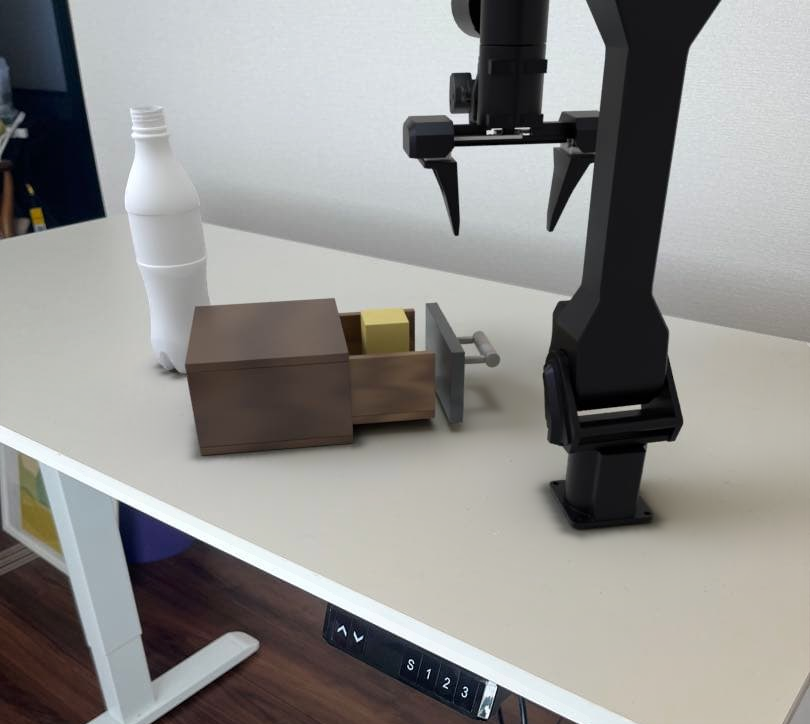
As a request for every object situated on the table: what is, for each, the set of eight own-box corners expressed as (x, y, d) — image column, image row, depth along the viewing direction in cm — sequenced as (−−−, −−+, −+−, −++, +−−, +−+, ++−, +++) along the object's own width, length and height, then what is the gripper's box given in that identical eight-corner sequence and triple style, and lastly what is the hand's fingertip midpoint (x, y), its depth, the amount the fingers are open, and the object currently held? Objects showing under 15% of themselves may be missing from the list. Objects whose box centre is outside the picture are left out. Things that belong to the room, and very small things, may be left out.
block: (409, 393, 78) (409, 322, 74) (368, 396, 77) (365, 324, 73) (403, 377, 81) (402, 307, 77) (363, 379, 80) (360, 310, 77)
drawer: (475, 363, 86) (478, 299, 83) (507, 418, 75) (512, 348, 72) (317, 374, 84) (312, 310, 81) (327, 433, 74) (321, 361, 70)
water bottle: (142, 370, 88) (88, 111, 74) (186, 348, 93) (143, 101, 79) (194, 382, 85) (149, 115, 71) (237, 359, 91) (202, 105, 76)
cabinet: (339, 378, 86) (334, 297, 81) (353, 443, 74) (348, 352, 69) (208, 388, 84) (194, 306, 79) (200, 455, 72) (184, 363, 67)
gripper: (590, 37, 78) (573, 210, 86) (394, 41, 76) (397, 217, 85) (630, 43, 68) (607, 237, 77) (409, 49, 67) (410, 245, 75)
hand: (503, 233), depth 79 cm, fingers open, 9 cm apart
